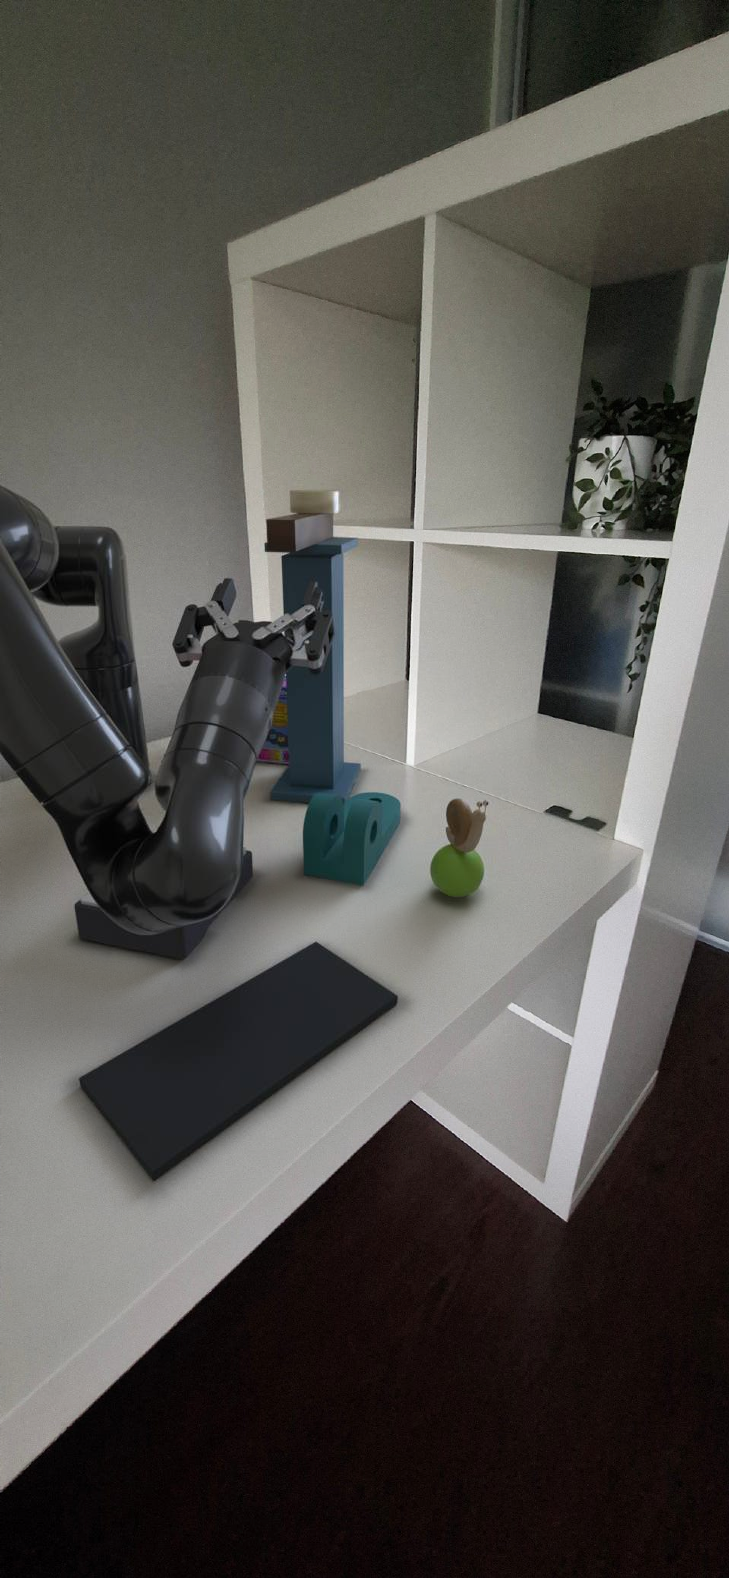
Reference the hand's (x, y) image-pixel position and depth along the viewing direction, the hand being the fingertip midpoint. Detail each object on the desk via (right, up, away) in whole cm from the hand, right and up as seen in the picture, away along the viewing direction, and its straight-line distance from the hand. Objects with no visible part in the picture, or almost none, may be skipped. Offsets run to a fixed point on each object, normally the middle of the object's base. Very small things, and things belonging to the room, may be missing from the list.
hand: (272, 587), depth 68 cm
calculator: (-10, -32, +1) cm, 33 cm away
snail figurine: (+19, -31, +3) cm, 36 cm away
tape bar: (+2, +8, +10) cm, 13 cm away
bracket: (+9, -26, +13) cm, 30 cm away
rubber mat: (+1, -39, -16) cm, 42 cm away
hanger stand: (+3, -19, +27) cm, 34 cm away
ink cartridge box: (-5, -15, +37) cm, 40 cm away
